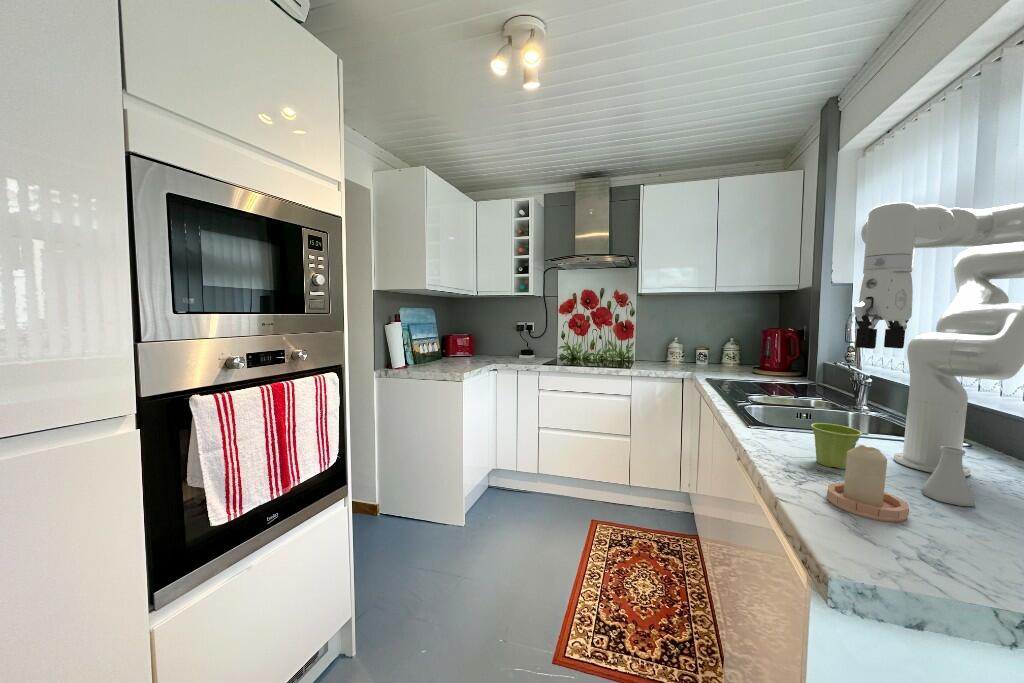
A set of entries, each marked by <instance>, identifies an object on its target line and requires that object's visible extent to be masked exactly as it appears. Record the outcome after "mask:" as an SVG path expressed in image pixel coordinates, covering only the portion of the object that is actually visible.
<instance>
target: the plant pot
mask: <svg viewBox="0 0 1024 683" xmlns="http://www.w3.org/2000/svg"><path fill="white" fill-rule="evenodd" d="M810 427H811V428H812V434H813V436H814V446H815V459H816V462H817V463H818V464H820V465H823V466H825V467H828V468H832V467H833V468H837V469H839V470H846V460H847V451H849V450H851V449H853V448H856V445H857V443H858V441H859V439H860V437H861V436H863V432H862V431H860V430H858V429H856V428H853V427H850V426H845V425H840V424H832V423H825V422H815V423H811V424H810Z"/></svg>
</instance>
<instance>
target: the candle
mask: <svg viewBox="0 0 1024 683" xmlns="http://www.w3.org/2000/svg"><path fill="white" fill-rule="evenodd" d="M887 466H888V458H887V457H886V456H885V455H884V454H883V453H882V452H881V450H880V449H878V448H877V447H876V448H875V447H873V446H871V447H870V446H869V447H868V446H865V445H863V444H861V445H858V446H855V448H853V449H851V450H849V451H847V460H846V469H845V473H844V482H843V483H844V497H846V498H848V499H851V500H853V501H856V502H859V503H863V504H867V505H871V506H875V507H881V506H882V505H883V498H884V492H885V488H886V486H885V485H886V479H887V478H886V477H887V469H888V468H887Z"/></svg>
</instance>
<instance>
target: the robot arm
mask: <svg viewBox="0 0 1024 683" xmlns="http://www.w3.org/2000/svg"><path fill="white" fill-rule="evenodd" d="M860 233H861V234H860V236H861V239H862V241H863V243H864V245H865V247H864V255H863V257H864V260H863V268H862V274H863V279H862V282H861V287H860V292H859V298H858V299H859V300H858V304H856V305H855V306H854V308H853V310H854V316H855V317H854V320H855V323H856V324H855V327H856V341H855V347H856V348H858V349H859V348H860V349H872V350H873V349H876V345H877V334H878V328H876V326H877V325H878V323H879V321H885V323H886V327H887V328H885V329H884V330H885V332H884V341H883V347H884V348H888V349H889V348H890V349H904V347H905V338H906V337H905V336H906V330H907V328H908V325H907V324H908V322H909V321H910V319H911V318H912V316H913V298H914V297H913V292H914V290H913V289H914V288H913V277H912V276H913V275H912V272H913V266H914V255H915V249H933V248H934V249H935V248H936V249H937V248H968V249H966V250H964V251H962V252H960V253H959V254H958V255H957V257H956V258H955V260H954V264H953V272H954V283H955V287H956V288H955V289H956V292H957V294H956V297H954V299H953V301H952V302H951V304H950V305H949V306H948V307H947V308H946V309H945V311H944V313H943V314H942V315H941V317H940V318H939V320H938V321H937V322H936V326H935V327H936V328H935V330H936V332H927V333H921V334H920V335H917V336H915V337H914V338H912V339H911V340H910V341H909V343H908V345H907V350H906V352H907V360H908V370H909V387H908V388H909V389H908V400H907V410H906V420H905V429H904V430H905V431H904V441H903V450H902V452H896V453H894V454H893V460H894V461H895V462H897V463H898V464H901V465H902V466H905V467H908V468H911V469H914V470H918V471H922V472H926V473H931V474H932V473H933V472H934V470H935V469H936V467H937V466H938V464H939V461H940V459H941V455H942V450H941V448H940V446H949V447H956V448H959V449H962V450H963V446H964V436H965V428H966V421H967V420H966V418H967V409H968V401H969V395H968V393H967V391H966V389H965V388H964V386H963V384H961V382H960V380H958V379H957V377H964V378H971V379H972V378H973V379H980V380H992V381H1005V380H1009V379H1011V378H1013V377H1015V376H1016V375H1017V373H1019V372H1020V370H1021V369H1022V367H1023V366H1024V303H1009V301H1010V299H1009V296H1008V295H1007V293H1006V292H1005V291H1004V290H1003V289H1002V288H1000V287H999V286H998V285H996V284H995V283H993V282H992V281H991V280H1004V279H1005V280H1007V279H1024V203H1023V202H1022V203H1017V204H1010V205H1004V206H1003V205H1002V206H999V207H991V208H984V209H976V208H975V209H974V208H962V207H961V208H960V207H953V208H952V207H951V208H947V207H945V206H942V205H938V204H927V205H926V204H925V205H916V204H914V203H912V202H904V201H903V202H891V203H885V204H884V203H883V204H881V205H878V206H875V207H873V208H872V209H871V210H870V211H869V212H868V216H867V220H866V221H865V222H864V224H863V226H862V228H861V232H860ZM965 455H966V453H965V454H963V456H962V457H964V456H965ZM962 465H963V471H964V474H965V477H969V476H970V475H971V469H970V468H969V467H968V466H966V465H965V464H962Z"/></svg>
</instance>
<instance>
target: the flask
mask: <svg viewBox="0 0 1024 683" xmlns="http://www.w3.org/2000/svg"><path fill="white" fill-rule="evenodd" d="M940 448H941V450H942V455H941V459H940V461H939V464H938V466H937V467H936V469H935V470H934V472H933V473H931V475H930V476H929V477H928V479H927V480H926V481H925V483H924V484H923V486H922V487H921V488H920V491H921V493H922V494H923V495H924V496H926V497H928V498H931V499H933V500H936V501H937V502H941V503H944V504H945V503H946V504H949V505H956V506H960V507H977V504H976V501H975V499H974V496H973V494H972V492H971V489H970V486H969V482H968V481H967V478H966V477H967V476H965V474H964V471H963V465H964V464H963V457H964V456H963V454H965V455H966V450H964V449H963V448H962V449H959V448H956V447H949V446H940Z"/></svg>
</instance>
